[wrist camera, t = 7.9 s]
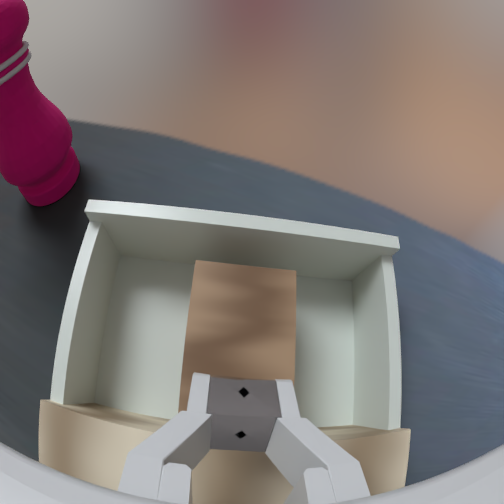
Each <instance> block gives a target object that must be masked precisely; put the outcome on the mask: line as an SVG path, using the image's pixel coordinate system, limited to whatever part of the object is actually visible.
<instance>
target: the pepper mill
mask: <svg viewBox="0 0 504 504" xmlns="http://www.w3.org/2000/svg"><path fill="white" fill-rule="evenodd" d="M28 23H29V14H28V9H27V6H26V4H25V2H24V1H23V0H0V172H1V174H2V175H3V177H4V178H5V180H6V181H7V182H9V183H10V184H13V185H15V186H18V188H19V190H20V192H21V193H22V195H23V196H24V197H25V199H26V200H27V202H28V203H30V204H32V205H34V206H45V205H49V204H51V203H54V202H56V201H57V200H59V199H60V198H62V197H63V196H64V195H65V194H66V193H67V192H68V191H69V190H70V189H71V188H72V186H73V185H74V184H75V182H76V180H77V178H78V175H79V171H80V164H79V161H78V159H77V156H76V154H75V152H74V150H73V148H72V147H71V142H72V130H71V127H70V125H69V123H68V121H67V119H66V117H65V116H64V115H63V113H62V112H61V111H60V110H59V109H58V108H57V107H56V106H55V105H54V104H53V103H52V102H50V101H49V100H48V99H47V98H46V97H45V96H44V95H43V94H42V93H41V92H40V91H39V89H38V88H37V87H36V85H35V83H34V81H33V79H32V77H31V74H30V71H29V66H28V62H29V60H30V58H31V52H29V49H28V45H29V44H28V42H26V41H22V38H23V35H24V33H25V31H26V29H27V26H28Z"/></svg>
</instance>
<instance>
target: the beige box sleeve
mask: <svg viewBox="0 0 504 504" xmlns="http://www.w3.org/2000/svg"><path fill="white" fill-rule="evenodd" d="M169 420H171V419H165V418H159V417H154V416H148V415H143V414H138V413H134V412H129V411H125V410H120V409H116V408H112V407H108V406H104V405H100V404H97V403H85V404H60V403H57V402H55V401H52V400H40V416H39V463H42V464H44V465H46V466H48V467H51V468H53V469H55V470H58V471H60V472H62V473H65V474H68V475H70V476H73V477H75V478H78V479H81V480H84V481H87V482H90V483H93V484H96V485H99V486H102V487H105V488H109V489H112V490H116V491H118V487H119V483H120V479H121V476H122V472H123V469H124V465H125V461H126V458H127V454H128V452H130V451H131V450H132V449H134V448H135V447H136V446H137V445H139V444H140V443H141V442H143V441H144V440H145V439H147V438H148V437H149V436H151V435H152V434H153V433H154V432H156V431H157V430H158V429H159V428H161V427H162V426H163V425H164V424H166V423H167V422H168V421H169ZM317 428H318V429H320V430H321V431H322V432H323V433H324V434H325V435H327V436H328V437H329V438H330V439H331V440H333V441H334V442H335V443H336V444H338V445H339V446H340V447H341V448H343V449H344V450H345V451H346V452H348V453H349V454H350V455H351V456H353V457H354V458H355V459H356V460H358V461H359V463H360V465H361V468H362V471H363V474H364V477H365V480H366V483H367V486H368V489H369V492H370V495H371V496H372V495H376V494H381V493H384V492H388V491H392V490H395V489H399V488H402V487H405V480H406V473H407V465H408V456H409V445H410V432H411V429H405V428H398V429H392V430H383V429H376V428H369V427H363V426H357V425H343V426H331V427H317ZM191 474H192V498H193V504H283V503H284V502H285V500H286V499H287V497H288V496H289V494H290V493H291V491H292V490H293V488H294V487H293V486H292V485H291V484H290V483H289V482H288V480H287V479H286V478H285V477H284V476H283V474H282V473H281V472H280V471H279V470H278V468H277V467H276V466H275V465H274V464H273V462H272V461H271V460H270V459H269V457H268V456H267V455H266V453H265V452H254V451H238V450H217V449H210V451H209V452H208V453H207V454H206V455H205V457H204V458H203V459H202V460H201V461H200V462H199V463H198V465H197V466H196V467H195V468H194V469H193V470H192V471H191Z"/></svg>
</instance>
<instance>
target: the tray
mask: <svg viewBox="0 0 504 504" xmlns="http://www.w3.org/2000/svg"><path fill="white" fill-rule="evenodd" d="M84 212H85V213H86V215H87V217H88V219H89V220H90V222H89V225H88V227H87V230H86V233H85V236H84V239H83V242H82V245H81V249H80V252H79V255H78V258H77V262H76V265H75V269H74V272H73V276H72V279H71V283H70V287H69V291H68V295H67V299H66V303H65V308H64V312H63V317H62V322H61V327H60V332H59V337H58V343H57V349H56V356H55V362H54V370H53V378H52V387H51V398H50V400H52V401H55V402H57V403H60V404H85V403H97V404H100V405H104V406H108V407H112V408H116V409H120V410H125V411H129V412H134V413H138V414H143V415H148V416H154V417H159V418H165V419H172V418H173V417H174V416H176V415H177V414H178V408H179V396H180V384H181V373H182V363H183V354H184V344H185V336H186V327H187V319H188V311H189V303H190V296H191V288H192V281H193V274H194V267H195V261H196V260H201V261H210V262H219V263H228V264H237V265H247V266H256V267H266V268H275V269H285V270H295V271H296V348H295V378H294V390H295V394H296V398H297V403H298V407H299V411H300V416H301V418H307V419H308V420H309V421H310V422H311V423H312V424H314V425H315V426H316V427H331V426H343V425H357V426H363V427H369V428H376V429H383V430H392V429H398V428H400V420H401V344H400V327H399V314H398V303H397V293H396V284H395V276H394V268H393V261H392V255H394V254H395V253H396V252H397V251H398V250H399V249H400V245H399V240H398V237H396V236H390V235H384V234H378V233H372V232H366V231H360V230H353V229H347V228H340V227H334V226H327V225H320V224H313V223H306V222H299V221H292V220H284V219H277V218H269V217H261V216H253V215H245V214H237V213H229V212H220V211H211V210H202V209H192V208H183V207H173V206H162V205H152V204H141V203H129V202H117V201H104V200H90V199H89V200H88V203H87V205H86V208H85V211H84Z"/></svg>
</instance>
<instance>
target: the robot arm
mask: <svg viewBox="0 0 504 504" xmlns="http://www.w3.org/2000/svg"><path fill="white" fill-rule="evenodd" d="M210 449H217V450H238V451H254V452H265V453H266V455H267V456H268V457H269V459H270V460H271V461H272V462H273V464H274V465H275V466H276V467H277V468H278V470H279V471H280V472H281V473H282V474H283V476H284V477H285V478H286V479H287V480H288V482H289V483H290V484H291V485H292V486H293V487H294V488H293V490H292V491H291V493H290V494H289V496H288V497H287V499H286V500H285V502H284V503H283V504H504V444H503V445H501V446H499V447H497V448H495V449H494V450H492V451H490V452H488V453H486V454H484V455H482V456H480V457H478V458H476V459H474V460H472V461H470V462H468V463H466V464H464V465H461V466H459V467H457V468H455V469H452V470H450V471H447V472H445V473H442V474H440V475H437V476H435V477H432V478H429V479H427V480H424V481H421V482H418V483H415V484H412V485H409V486H406V487H402V488H399V489H395V490H392V491H388V492H384V493H381V494H376V495H372V496H371V495H370V492H369V489H368V486H367V483H366V480H365V477H364V474H363V471H362V468H361V465H360V463H359V461H358V460H356V459H355V458H354V457H353V456H351V455H350V454H349V453H348V452H346V451H345V450H344V449H343V448H341V447H340V446H339V445H338V444H336V443H335V442H334V441H333V440H331V439H330V438H329V437H328V436H327V435H325V434H324V433H323V432H322V431H321V430H320V429H318V428H317V427H316V426H315V425H314V424H312V423H311V422H310V421H309V420H308V419H307V418H301V416H300V411H299V407H298V403H297V398H296V394H295V390H294V386H293V382H292V381H291V380H285V379H275V380H274V379H253V378H238V377H229V376H220V375H212V374H211V377H210V375H209V374H202V373H195V372H194V373H193V376H192V382H191V388H190V394H189V400H188V406H187V411H180V412H179V413H178V414H177V415H176V416H174V417H173V418H172V419H171V420H169V421H168V422H167V423H166V424H164V425H163V426H162V427H161V428H159V429H158V430H157V431H156V432H154V433H153V434H152V435H151V436H149V437H148V438H147V439H145V440H144V441H143V442H141V443H140V444H139V445H137V446H136V447H135V448H134V449H132V450H131V451H130V452H128V454H127V458H126V461H125V465H124V469H123V472H122V476H121V479H120V483H119V487H118V491H116V490H112V489H109V488H105V487H102V486H99V485H96V484H93V483H90V482H87V481H84V480H81V479H78V478H75V477H73V476H70V475H68V474H65V473H62V472H60V471H58V470H55V469H53V468H51V467H48V466H46V465H44V464H42V463H39V462H37V461H35V460H33V459H31V458H29V457H27V456H25V455H23V454H21V453H19V452H17V451H15V450H14V449H12V448H10V447H8V446H6V445H5V444H3V443H1V442H0V504H193V498H192V474H191V471H192V470H193V469H194V468H195V467H196V466H197V465H198V463H199V462H200V461H201V460H202V459H203V458H204V457H205V455H206V454H207V453H208V452H209V451H210Z"/></svg>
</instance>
